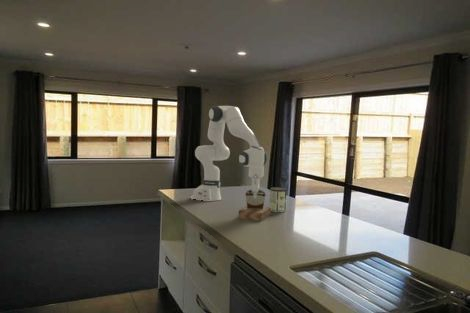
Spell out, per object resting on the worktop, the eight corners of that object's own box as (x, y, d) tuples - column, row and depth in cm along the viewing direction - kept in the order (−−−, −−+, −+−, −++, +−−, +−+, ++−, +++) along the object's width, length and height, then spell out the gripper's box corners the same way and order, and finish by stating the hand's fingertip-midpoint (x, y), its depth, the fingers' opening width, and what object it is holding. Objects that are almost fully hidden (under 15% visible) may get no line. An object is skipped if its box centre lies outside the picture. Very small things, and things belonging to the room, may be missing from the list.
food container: (265, 204, 208) (265, 189, 204) (265, 209, 202) (266, 193, 198) (244, 203, 208) (245, 188, 205) (244, 208, 202) (244, 193, 199)
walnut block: (238, 218, 198) (238, 210, 198) (248, 212, 213) (249, 204, 212) (261, 221, 193) (261, 213, 192) (270, 215, 207) (270, 207, 207)
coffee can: (275, 207, 228) (276, 186, 227) (288, 210, 221) (289, 188, 220) (266, 210, 220) (267, 188, 219) (279, 213, 213) (280, 190, 212)
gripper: (261, 176, 190) (260, 201, 191) (262, 171, 210) (261, 194, 212) (249, 175, 191) (248, 200, 192) (251, 171, 211) (250, 193, 212)
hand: (255, 197), depth 202 cm, fingers closed on food container, 5 cm apart
